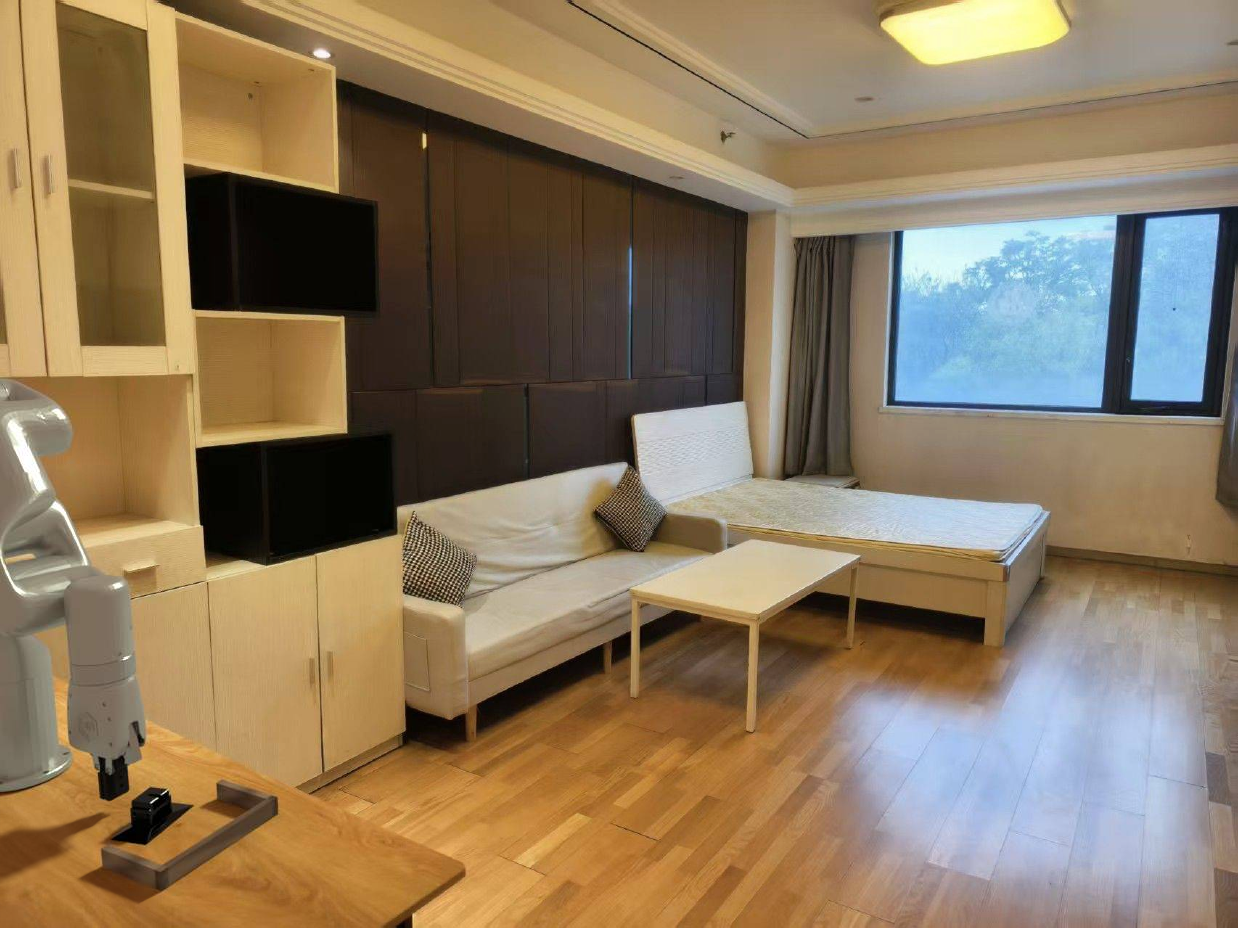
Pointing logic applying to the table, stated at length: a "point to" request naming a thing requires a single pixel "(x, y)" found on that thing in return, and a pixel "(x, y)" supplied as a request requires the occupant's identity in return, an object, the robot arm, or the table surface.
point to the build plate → (150, 816)
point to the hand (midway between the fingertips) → (114, 795)
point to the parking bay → (204, 850)
